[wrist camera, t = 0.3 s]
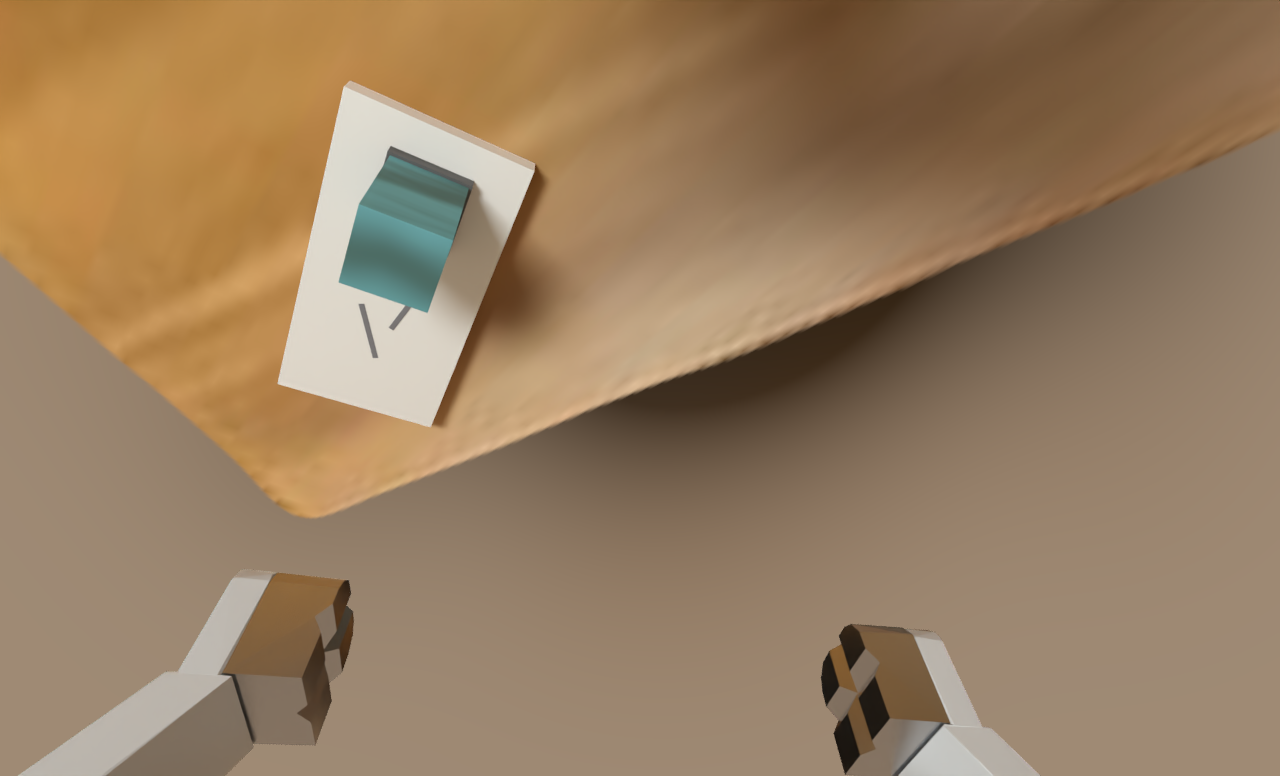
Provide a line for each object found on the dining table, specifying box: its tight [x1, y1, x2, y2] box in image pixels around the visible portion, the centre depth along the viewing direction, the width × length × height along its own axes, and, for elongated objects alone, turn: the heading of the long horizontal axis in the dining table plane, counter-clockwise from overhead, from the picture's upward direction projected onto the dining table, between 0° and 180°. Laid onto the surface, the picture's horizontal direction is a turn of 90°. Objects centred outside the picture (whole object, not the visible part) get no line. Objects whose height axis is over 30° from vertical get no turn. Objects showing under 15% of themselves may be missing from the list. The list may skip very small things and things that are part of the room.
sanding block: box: [339, 146, 474, 313], centre depth 40 cm, size 5×5×9 cm
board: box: [278, 81, 535, 427], centre depth 47 cm, size 24×12×2 cm, turn 153°
